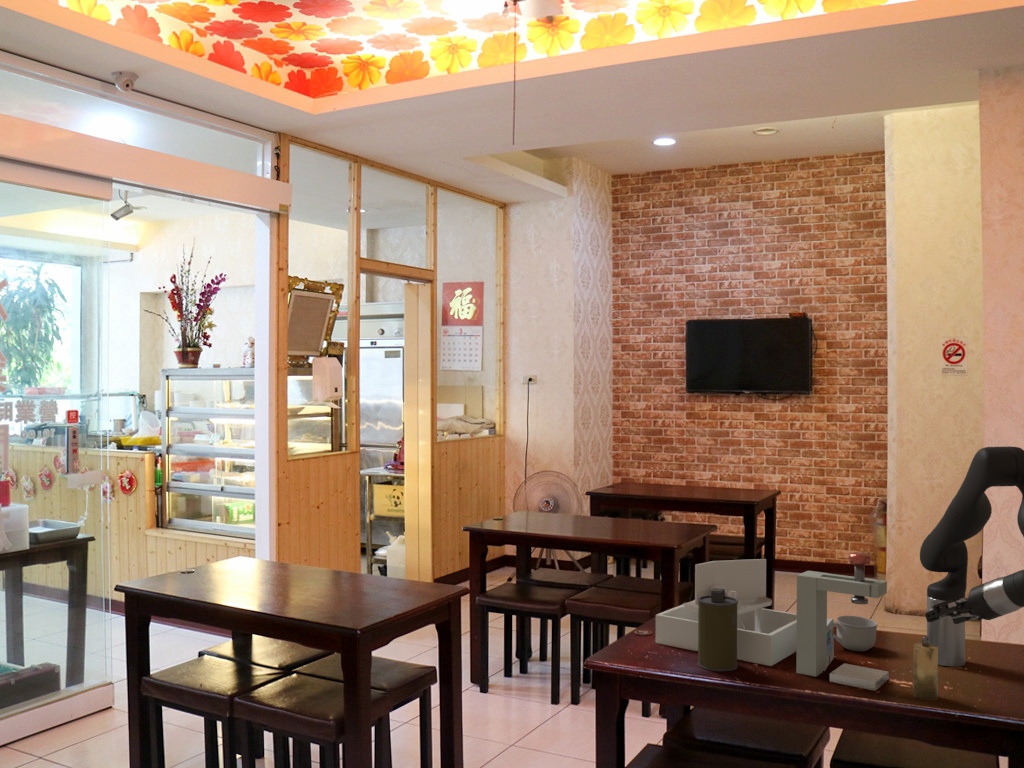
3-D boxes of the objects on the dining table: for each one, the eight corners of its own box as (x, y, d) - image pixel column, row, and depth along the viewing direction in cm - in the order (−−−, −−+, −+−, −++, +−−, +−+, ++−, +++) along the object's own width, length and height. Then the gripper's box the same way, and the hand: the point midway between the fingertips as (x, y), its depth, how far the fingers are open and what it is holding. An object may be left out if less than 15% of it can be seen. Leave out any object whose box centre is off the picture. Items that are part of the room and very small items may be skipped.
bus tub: (699, 624, 280) (699, 598, 280) (808, 643, 258) (809, 615, 258) (655, 642, 258) (655, 614, 258) (771, 666, 237) (771, 635, 237)
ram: (852, 599, 229) (852, 551, 229) (872, 602, 226) (873, 554, 226) (846, 602, 225) (846, 554, 225) (866, 605, 222) (866, 556, 222)
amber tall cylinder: (916, 691, 218) (916, 633, 218) (940, 696, 214) (940, 637, 214) (910, 697, 213) (911, 637, 214) (934, 701, 210) (934, 641, 210)
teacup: (868, 643, 259) (868, 615, 260) (883, 654, 249) (883, 625, 249) (819, 642, 260) (820, 614, 260) (832, 653, 249) (832, 624, 249)
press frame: (807, 665, 238) (808, 570, 238) (886, 681, 225) (887, 580, 225) (796, 672, 231) (796, 575, 231) (877, 689, 219) (877, 586, 219)
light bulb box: (827, 668, 236) (827, 626, 236) (800, 664, 239) (800, 623, 239) (834, 657, 245) (834, 618, 245) (808, 654, 248) (808, 614, 248)
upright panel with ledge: (735, 663, 241) (736, 575, 241) (672, 646, 257) (672, 563, 257) (791, 644, 260) (792, 562, 260) (729, 629, 275) (729, 552, 276)
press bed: (844, 671, 233) (844, 663, 233) (888, 679, 226) (888, 671, 226) (829, 681, 224) (829, 673, 225) (875, 690, 218) (875, 682, 218)
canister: (734, 673, 230) (735, 595, 230) (694, 668, 234) (694, 591, 234) (740, 662, 240) (740, 586, 241) (701, 657, 244) (701, 583, 244)
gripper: (1014, 583, 202) (957, 605, 215) (969, 578, 197) (913, 601, 209) (1026, 616, 198) (967, 636, 211) (980, 612, 193) (922, 633, 205)
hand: (940, 619), depth 210 cm, fingers open, 8 cm apart
